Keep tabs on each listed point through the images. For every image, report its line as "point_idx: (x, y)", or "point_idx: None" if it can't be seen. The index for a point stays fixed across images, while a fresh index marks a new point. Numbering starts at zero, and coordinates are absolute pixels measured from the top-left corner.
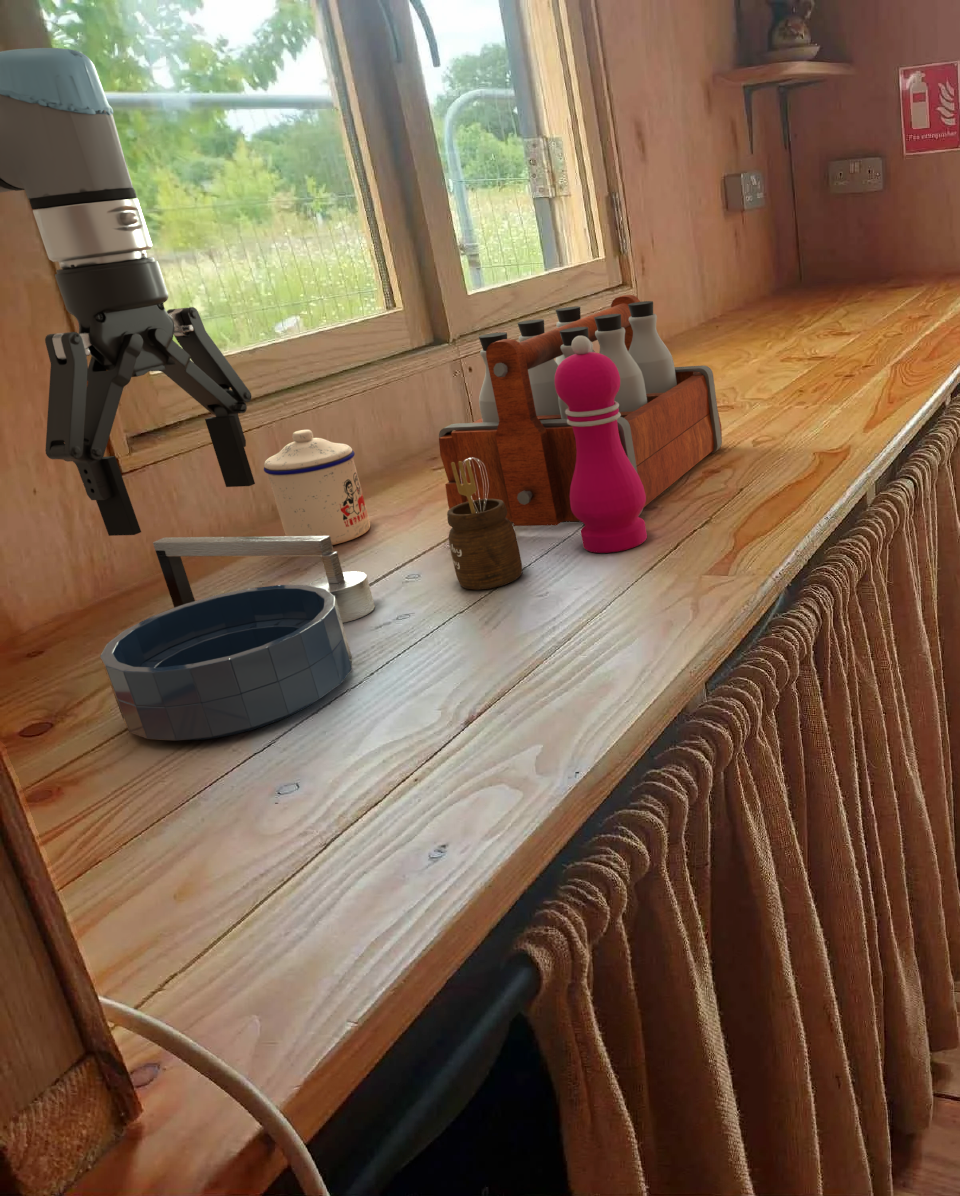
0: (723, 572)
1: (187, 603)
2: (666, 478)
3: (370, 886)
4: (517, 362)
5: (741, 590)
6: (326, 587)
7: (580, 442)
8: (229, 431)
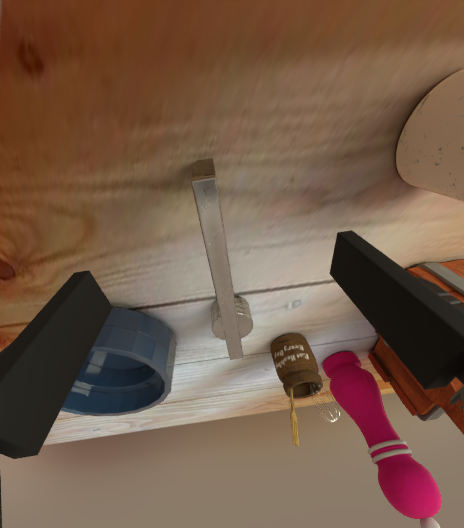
0: None
1: (108, 348)
2: None
3: (75, 428)
4: None
5: (274, 409)
6: (221, 329)
7: (366, 431)
8: (400, 348)
